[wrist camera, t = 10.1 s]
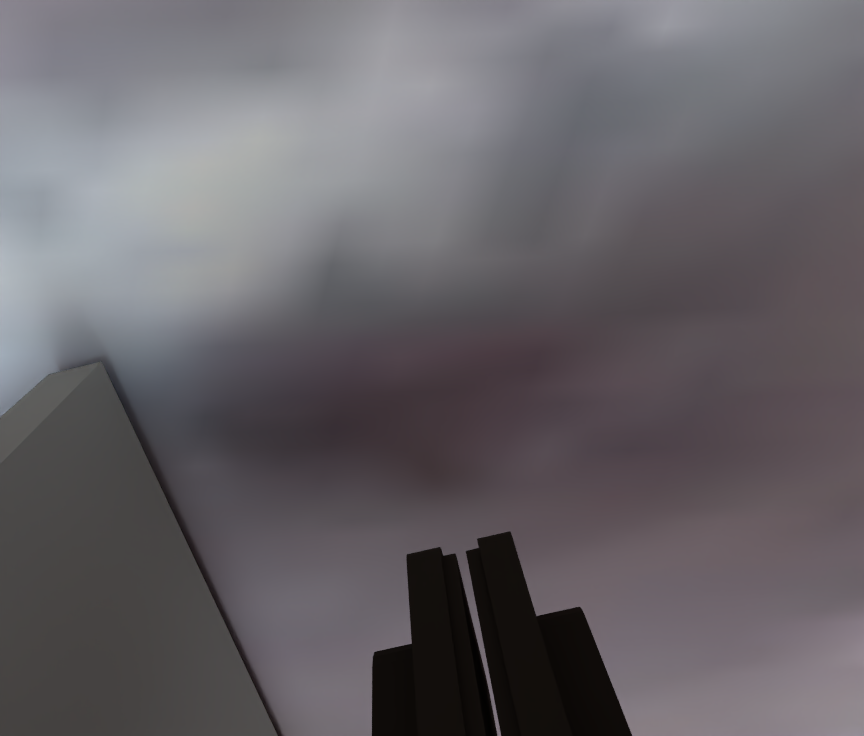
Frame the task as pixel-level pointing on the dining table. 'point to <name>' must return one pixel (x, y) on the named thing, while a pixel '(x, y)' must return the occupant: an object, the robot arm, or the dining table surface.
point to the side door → (103, 583)
